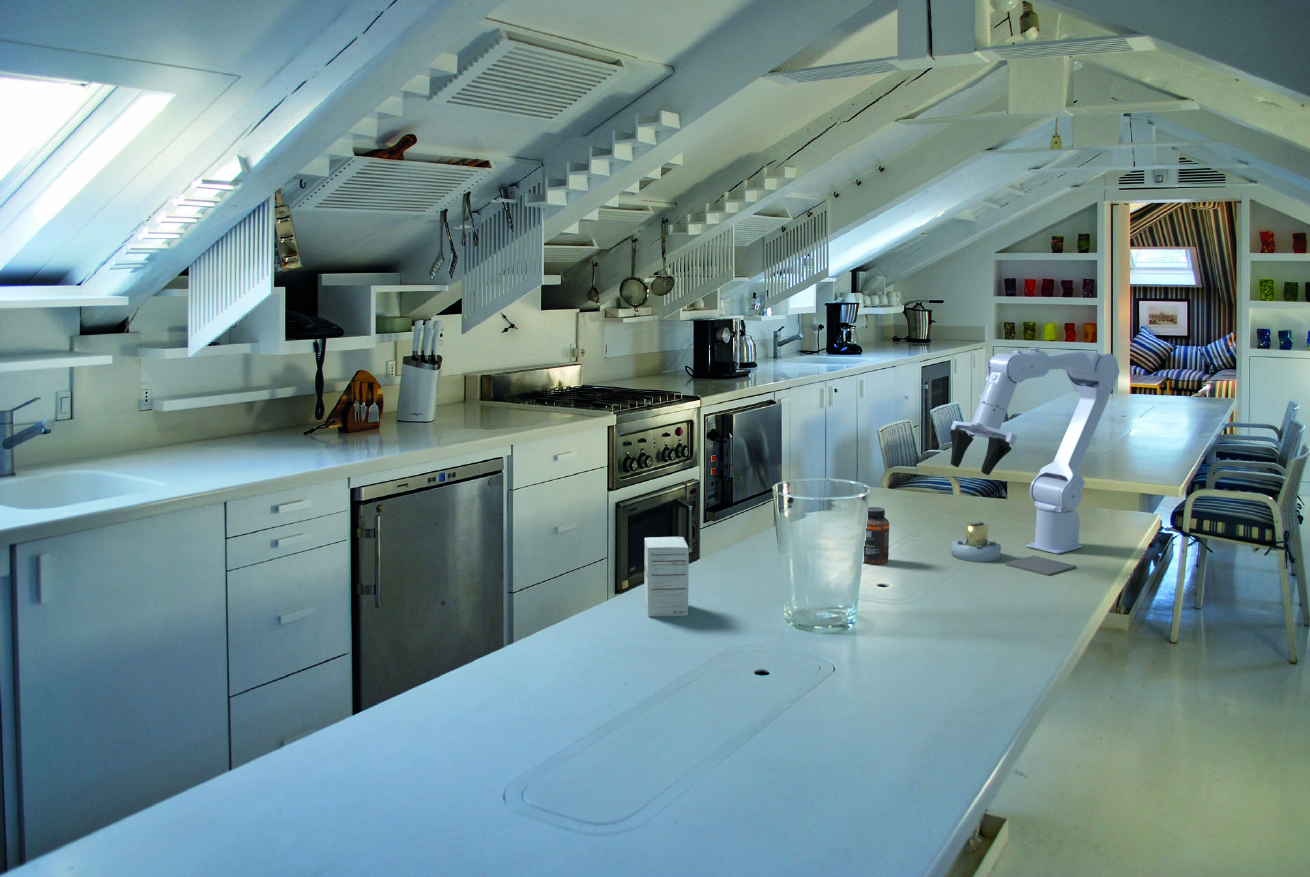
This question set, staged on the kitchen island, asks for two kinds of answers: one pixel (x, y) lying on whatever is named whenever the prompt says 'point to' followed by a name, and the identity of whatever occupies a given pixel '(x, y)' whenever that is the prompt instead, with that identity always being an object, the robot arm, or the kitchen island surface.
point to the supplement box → (666, 576)
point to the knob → (976, 534)
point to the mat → (1041, 565)
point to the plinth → (976, 551)
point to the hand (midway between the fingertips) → (969, 469)
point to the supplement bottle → (876, 537)
